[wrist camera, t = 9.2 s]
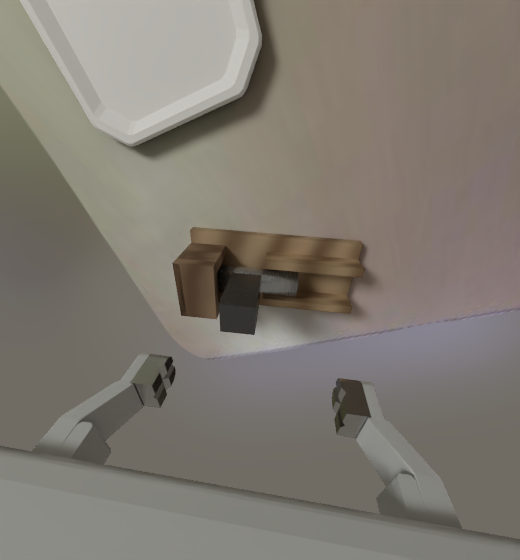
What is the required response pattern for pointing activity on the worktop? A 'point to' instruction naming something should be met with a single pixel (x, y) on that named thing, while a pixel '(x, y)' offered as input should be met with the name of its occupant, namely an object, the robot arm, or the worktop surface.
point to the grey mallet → (249, 294)
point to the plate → (150, 58)
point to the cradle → (268, 255)
